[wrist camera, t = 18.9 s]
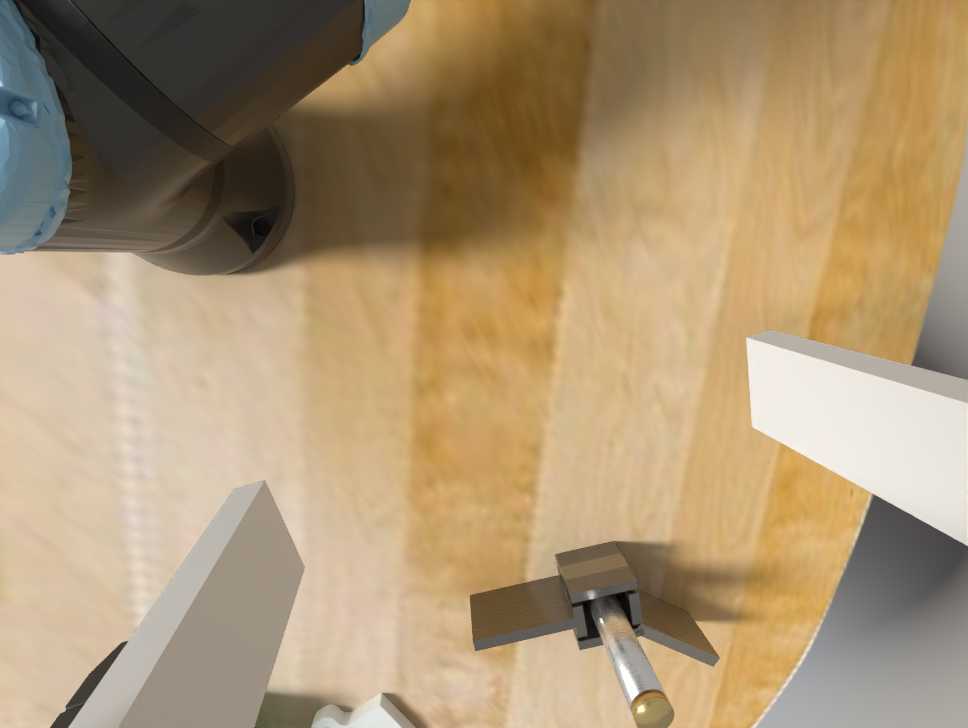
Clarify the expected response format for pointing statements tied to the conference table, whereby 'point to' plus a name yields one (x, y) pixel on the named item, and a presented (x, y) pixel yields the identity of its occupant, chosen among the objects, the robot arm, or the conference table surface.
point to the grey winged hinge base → (583, 607)
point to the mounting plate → (362, 716)
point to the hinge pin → (631, 664)
